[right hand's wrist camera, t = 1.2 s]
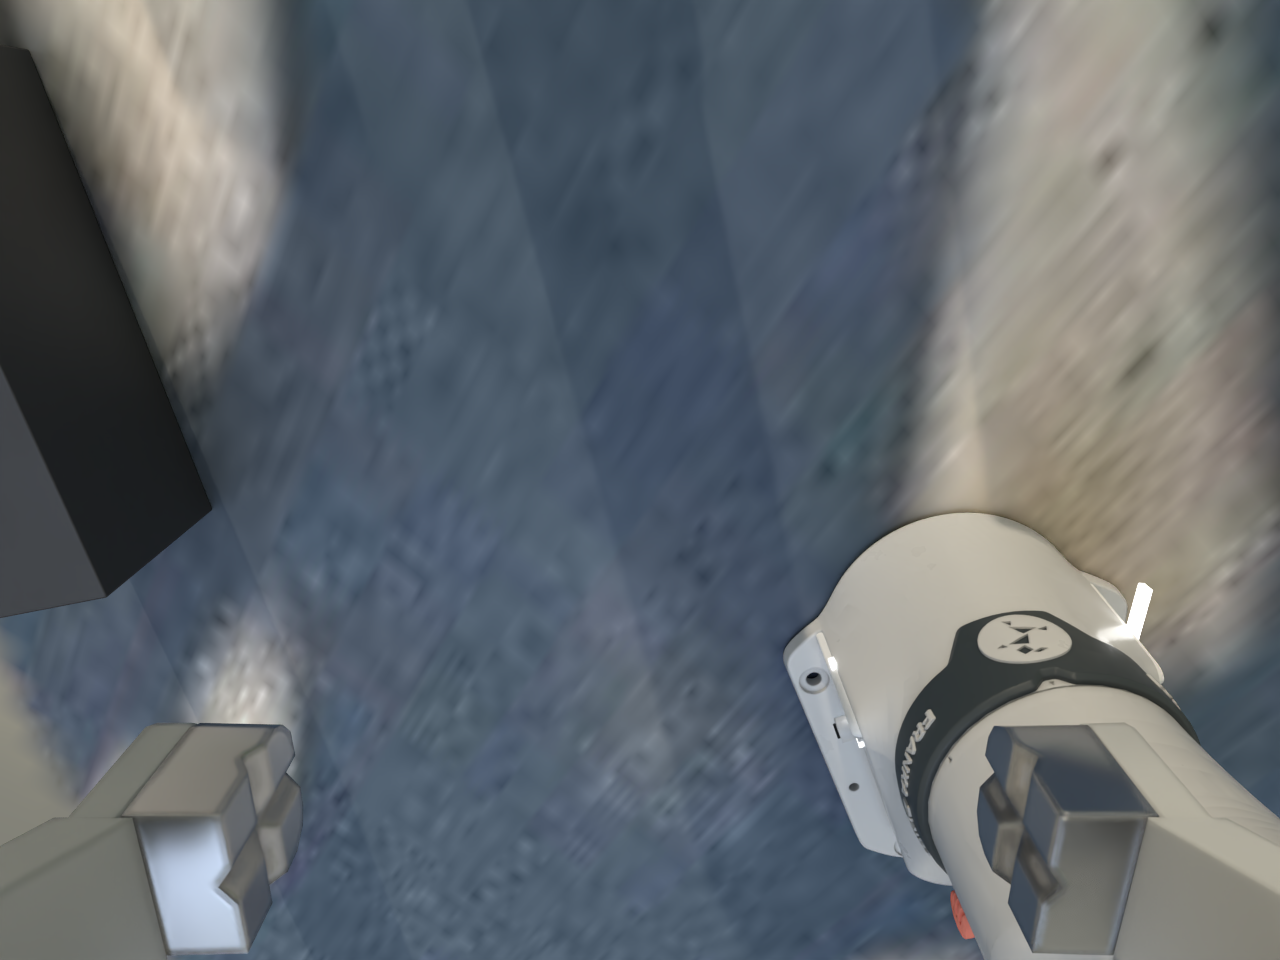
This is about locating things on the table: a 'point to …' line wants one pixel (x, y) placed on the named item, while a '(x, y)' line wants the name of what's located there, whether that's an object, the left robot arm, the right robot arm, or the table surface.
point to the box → (73, 383)
